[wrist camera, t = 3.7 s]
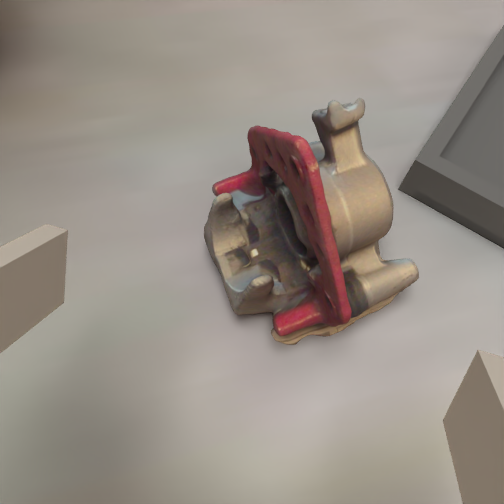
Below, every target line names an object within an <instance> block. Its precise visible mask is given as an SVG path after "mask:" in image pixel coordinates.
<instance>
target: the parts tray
mask: <svg viewBox="0 0 504 504" xmlns="http://www.w3.org/2000/svg"><path fill="white" fill-rule="evenodd" d="M399 190H401V191H403V192H405V193H407V194H408V195H410V196H412V197H414V198H415V199H417V200H419V201H421V202H423V203H424V204H426V205H428V206H430V207H432V208H433V209H435V210H437V211H439V212H440V213H442V214H444V215H446V216H448V217H449V218H451V219H453V220H455V221H456V222H458V223H460V224H462V225H464V226H465V227H467V228H469V229H471V230H472V231H474V232H476V233H478V234H480V235H481V236H483V237H485V238H487V239H489V240H490V241H492V242H494V243H496V244H497V245H499V246H501V247H503V248H504V26H503V27H502V29H501V30H500V32H499V33H498V35H497V36H496V38H495V39H494V41H493V42H492V44H491V45H490V47H489V49H488V50H487V52H486V53H485V55H484V56H483V58H482V59H481V61H480V62H479V64H478V65H477V67H476V68H475V70H474V71H473V73H472V74H471V76H470V77H469V79H468V80H467V82H466V84H465V85H464V87H463V88H462V90H461V91H460V93H459V94H458V96H457V97H456V99H455V100H454V102H453V103H452V105H451V106H450V108H449V109H448V111H447V112H446V114H445V116H444V117H443V119H442V120H441V122H440V123H439V125H438V126H437V128H436V129H435V131H434V132H433V134H432V135H431V137H430V138H429V140H428V141H427V143H426V144H425V146H424V148H423V149H422V151H421V152H420V154H419V155H418V157H417V158H416V160H415V161H414V163H413V165H412V166H411V168H410V170H409V172H408V173H407V175H406V177H405V178H404V180H403V182H402V183H401V185H400V187H399Z"/></svg>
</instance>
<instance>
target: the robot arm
mask: <svg viewBox="0 0 504 504" xmlns="http://www.w3.org/2000/svg"><path fill="white" fill-rule="evenodd" d="M67 235H68V230H65V229H62V228H59V227H55V226H52V225H48V224H45V225H43V226H41V227H39V228H37V229H35V230H33V231H31V232H29V233H27V234H25V235H23V236H21V237H19V238H17V239H15V240H13V241H11V242H9V243H7V244H5V245H3V246H1V247H0V353H1V352H3V351H4V350H5V349H6V348H8V347H9V346H10V345H11V344H13V343H14V342H15V341H16V340H18V339H19V338H20V337H21V336H23V335H24V334H25V333H26V332H28V331H29V330H30V329H31V328H33V327H34V326H35V325H36V324H38V323H39V322H40V321H41V320H43V319H44V318H45V317H46V316H48V315H49V314H50V313H52V312H53V311H54V310H55V309H57V308H58V307H59V306H60V305H62V304H63V303H64V292H65V273H66V254H67ZM443 423H444V428H445V432H446V436H447V440H448V444H449V448H450V452H451V456H452V460H453V465H454V469H455V473H456V477H457V481H458V485H459V489H460V493H461V497H462V501H463V504H504V357H501V356H497V355H494V354H490V353H487V352H484V351H480V350H478V351H477V353H476V355H475V357H474V359H473V361H472V363H471V365H470V367H469V369H468V371H467V373H466V375H465V377H464V379H463V381H462V383H461V385H460V387H459V389H458V391H457V393H456V395H455V397H454V399H453V401H452V403H451V405H450V407H449V409H448V411H447V413H446V415H445V417H444V419H443Z"/></svg>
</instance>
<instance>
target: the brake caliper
mask: <svg viewBox="0 0 504 504" xmlns="http://www.w3.org/2000/svg"><path fill="white" fill-rule="evenodd" d="M364 111H365V103H364V100H363V99H361V98H359V99H357V100H356V102H355V103H354V104H351V103H347V104H343V105H341V104H340V103H339V102H337V101H335V100H332V101H330V102H329V104H328V108H327V109H320V110H315V111H314V112H313V114H312V120H313V122H314V124H315V126H316V129H317V133H318V135H319V138H320V141H321V142H320V141H315V142H311V143H308V142H307V141H306V140H305V139H304V138H302V137H301V136H295V135H294V136H293V135H291V134H290V133H288V132H281V131H278V130H275V129H268V128H266V127H260V126H255V127H251V128H250V129H249V131H248V142H249V148H250V154H251V157H252V166H251V168H250V170H248V171H246V172H243V173H241V174H239V175H236V176H232V177H229V178H226V179H224V180H222V181H219V182H217V183H215V184H214V185H213V187H212V190H213V193H214V195H216V196H217V197H216V198H215V199H214V201H213V204H212V207H211V210H210V212H209V216H208V221H207V223H206V225H205V227H204V239H205V242H206V244H207V247H208V250H209V252H210V255H211V257H212V259H213V261H214V263H215V264H216V266H217V268H218V270H219V271H220V274H221V276H222V279H223V283H224V286H225V289H226V292H227V295H228V298H229V300H230V303H231V306H232V308H233V311H234V312H235V313H236V314H237V315H241V314H255V313H265V312H273V313H274V315H273V325H274V328H273V329H272V330H271V334H272V336H273V337H274V339H275V340H276V341H279V342H282V343H284V344H288V345H294V344H297V342H298V341H300V339H302V338H303V337H305V336H308V335H319V336H330V335H333V334H335V333H337V332H339V331H342V330H344V329H345V328H346V327H348V326H349V325H351V324H353V323H354V322H355V321H356V320H357V319H360V318H362V317H364V316H366V315H367V314H370V313H373V312H375V311H377V310H380V309H381V308H383V307H384V306H385V305H387V304H389V303H390V302H391V301H392V300H393V298H394V297H395V296H396V295H397V294H398V293H399V292H401V291H403V290H404V289H405V288H407V287H408V286H410V285H411V284H412V283H414V282H415V281H416V280H417V279H418V278H419V272H418V269H417V266H416V265H415V263H414V262H413V261H412V260H411V259H397V260H389V261H388V260H383V259H382V258H381V256H380V252H379V245H378V241H379V239H381V238H382V237H384V236H385V235H386V234H387V232H388V231H389V230H390V228H391V225H392V220H393V200H392V196H391V193H390V190H389V187H388V185H387V182H386V180H385V177H384V175H383V173H382V172H381V170H380V169H379V167H378V166H377V164H376V163H375V162H374V161H373V160H372V159H371V158H370V157H368V156H367V155H366V154H365V152H364V151H363V147H362V142H361V136H360V131H359V125H358V120H359V119H360V118H362V116H363V115H364Z"/></svg>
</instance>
